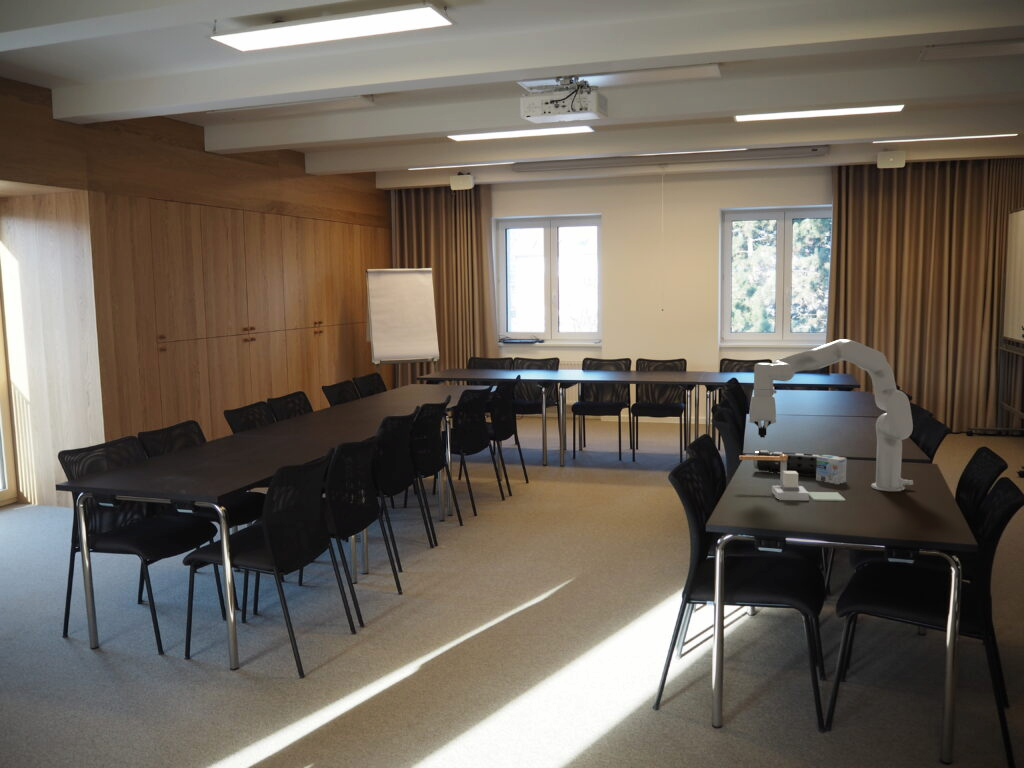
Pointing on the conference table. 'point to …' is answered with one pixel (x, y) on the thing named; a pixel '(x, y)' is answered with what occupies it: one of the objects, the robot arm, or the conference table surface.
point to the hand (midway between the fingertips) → (762, 436)
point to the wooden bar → (765, 458)
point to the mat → (826, 496)
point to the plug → (790, 481)
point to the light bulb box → (831, 469)
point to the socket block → (788, 495)
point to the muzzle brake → (788, 462)
